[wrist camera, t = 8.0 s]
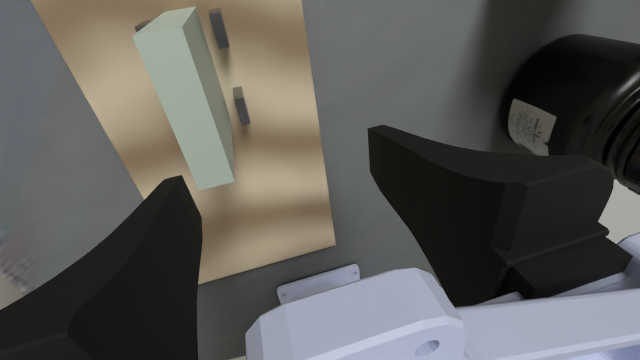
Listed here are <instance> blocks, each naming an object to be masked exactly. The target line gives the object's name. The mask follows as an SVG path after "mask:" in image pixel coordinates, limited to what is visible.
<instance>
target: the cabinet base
mask: <svg viewBox="0 0 640 360" xmlns="http://www.w3.org/2000/svg"><path fill="white" fill-rule="evenodd" d="M31 2H32V4H33V6H34V7H35V9H36V11H37V13H38V14H39V16H40V18H41V20H42V21H43V23H44V25H45V27H46V28H47V30H48V32H49V34H50V35H51V37H52V39H53V41H54V42H55V44H56V46H57V48H58V49H59V51H60V53H61V55H62V56H63V58H64V60H65V62H66V63H67V65H68V67H69V69H70V70H71V72H72V74H73V76H74V77H75V79H76V81H77V83H78V84H79V86H80V88H81V90H82V91H83V93H84V95H85V97H86V98H87V100H88V102H89V104H90V105H91V107H92V109H93V111H94V112H95V114H96V116H97V118H98V119H99V121H100V123H101V125H102V126H103V128H104V130H105V132H106V133H107V135H108V137H109V139H110V140H111V142H112V144H113V146H114V147H115V149H116V151H117V153H118V154H119V156H120V158H121V160H122V161H123V163H124V165H125V167H126V168H127V170H128V172H129V174H130V175H131V177H132V179H133V181H134V182H135V184H136V186H137V188H138V189H139V191H140V193H141V195H142V196H143V198H144V200H145V199H146V198H147V196H148V195H149V194H150V193H151V192H152V191H153V190H154V189H155V188H156V187H157V186H158V185H159V184H160V183H161V182H162V181H163V180H164V179H167V178H171V177H175V176H179V175H182V176H183V178H184V181H185V183H186V185H187V187H188V189H189V191H190V193H191V195H192V198H193V200H194V202H195V204H196V206H197V208H198V210H199V212H200V215H201V217H202V234H203V241H202V252H201V261H200V270H199V279H198V284H201V283H205V282H208V281H212V280H215V279H219V278H222V277H226V276H229V275H233V274H236V273H240V272H243V271H247V270H250V269H254V268H257V267H261V266H264V265H268V264H271V263H275V262H278V261H282V260H285V259H289V258H292V257H296V256H299V255H303V254H306V253H310V252H313V251H317V250H320V249H324V248H327V247H331V246H334V245H336V243H335V236H334V228H333V221H332V214H331V207H330V200H329V193H328V186H327V179H326V172H325V165H324V158H323V150H322V143H321V136H320V129H319V122H318V115H317V108H316V101H315V94H314V87H313V80H312V73H311V65H310V58H309V51H308V44H307V37H306V30H305V23H304V16H303V9H302V2H301V0H31ZM190 7H196V8H197V11H198V14H199V17H200V21H201V24H202V27H203V30H204V34H205V37H206V40H207V43H208V47H209V50H210V53H211V56H212V60H213V63H214V66H215V69H216V72H217V76H218V79H219V82H220V85H221V89H222V92H223V95H224V98H225V102H226V105H227V108H228V111H229V114H230V118H231V129H232V145H233V160H234V176H235V182H232V183H227V184H223V185H219V186H215V187H211V188H207V189H203V190H198V187H197V185H196V183H195V180H194V178H193V176H192V173H191V171H190V169H189V167H188V164H187V162H186V160H185V157H184V155H183V153H182V150H181V148H180V146H179V143H178V141H177V139H176V136H175V134H174V132H173V129H172V127H171V125H170V123H169V120H168V118H167V116H166V113H165V111H164V109H163V106H162V104H161V102H160V99H159V97H158V95H157V92H156V90H155V88H154V86H153V83H152V81H151V79H150V76H149V74H148V72H147V69H146V67H145V65H144V62H143V60H142V58H141V55H140V53H139V51H138V49H137V46H136V44H135V42H134V39H133V37H132V36H133V35H134V34H135V33H137V32H136V30H135V26H137V25H138V24H140V23H141V22H143V21H147V20H152V19H156V18H157V17H158V16H160V15H161V14H162V13H164V12H166V11H172V10H178V9H184V8H190ZM216 8H220V10H221V13H222V17H223V20H224V24H225V28H226V31H227V35H228V39H229V47H228V48H223V49H219V47H218V44H217V41H216V37H215V34H214V30H213V27H212V24H211V20H210V17H209V11H210V9H216ZM240 86H242V90H243V94H244V97H245V101H246V105H247V108H248V113H249V118H250V123H251V124H247V125H243V126H242V125H241V122H240V119H239V115H238V112H237V108H236V105H235V102H234V96H233V88H235V87H240Z"/></svg>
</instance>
